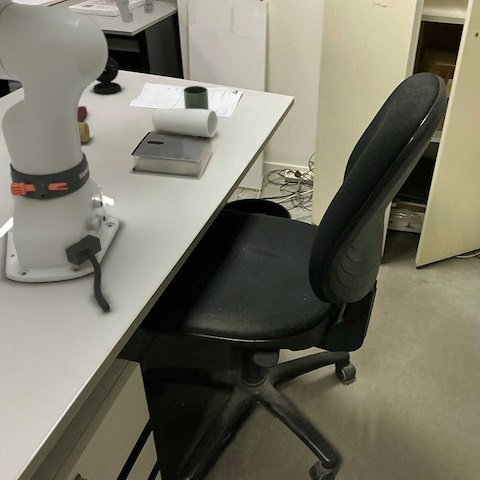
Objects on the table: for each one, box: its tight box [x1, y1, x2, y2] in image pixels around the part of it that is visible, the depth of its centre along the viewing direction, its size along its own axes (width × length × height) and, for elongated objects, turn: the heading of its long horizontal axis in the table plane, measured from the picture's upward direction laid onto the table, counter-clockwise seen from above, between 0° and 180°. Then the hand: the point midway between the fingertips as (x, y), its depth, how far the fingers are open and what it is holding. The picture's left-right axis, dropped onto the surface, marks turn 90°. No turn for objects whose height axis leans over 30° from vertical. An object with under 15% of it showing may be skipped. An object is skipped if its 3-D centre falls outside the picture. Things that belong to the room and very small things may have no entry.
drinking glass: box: [151, 107, 218, 138], centre depth 137 cm, size 7×7×15 cm
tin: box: [183, 85, 210, 110], centre depth 144 cm, size 6×6×8 cm
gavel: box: [77, 105, 91, 143], centre depth 137 cm, size 21×5×10 cm
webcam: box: [92, 55, 122, 95], centre depth 157 cm, size 8×8×10 cm
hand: (139, 17), depth 120 cm, fingers open, 8 cm apart
